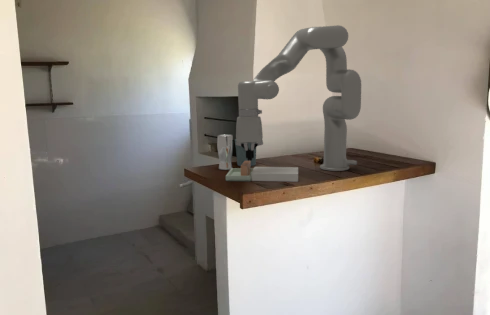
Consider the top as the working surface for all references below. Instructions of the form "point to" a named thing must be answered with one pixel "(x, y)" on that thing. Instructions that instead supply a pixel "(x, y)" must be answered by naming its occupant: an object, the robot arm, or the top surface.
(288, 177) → the white slab
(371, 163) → the top surface
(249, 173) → the far tile
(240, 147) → the grey cup
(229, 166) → the beer glass
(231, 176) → the tray
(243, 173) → the near tile
